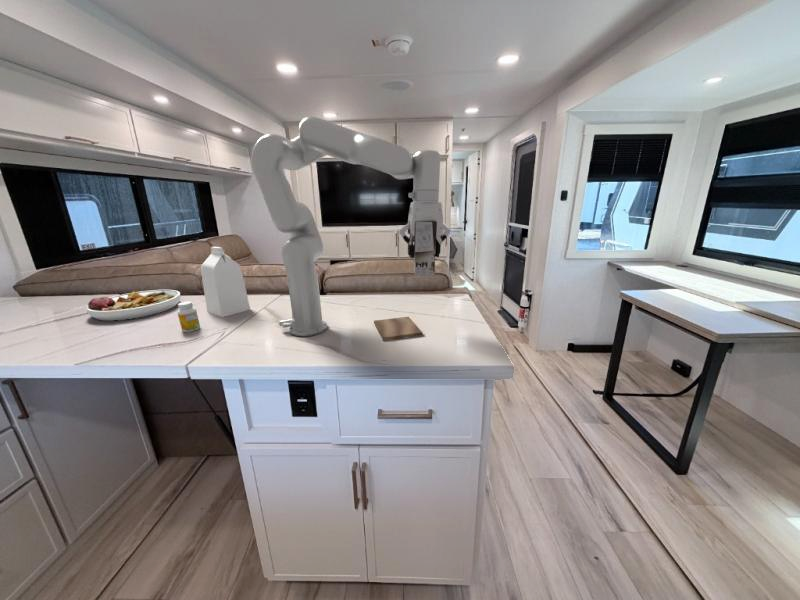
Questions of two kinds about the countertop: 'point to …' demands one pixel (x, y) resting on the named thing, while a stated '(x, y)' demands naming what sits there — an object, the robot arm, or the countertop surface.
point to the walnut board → (397, 328)
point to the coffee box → (425, 247)
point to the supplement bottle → (188, 317)
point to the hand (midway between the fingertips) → (424, 256)
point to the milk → (223, 284)
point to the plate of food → (133, 304)
